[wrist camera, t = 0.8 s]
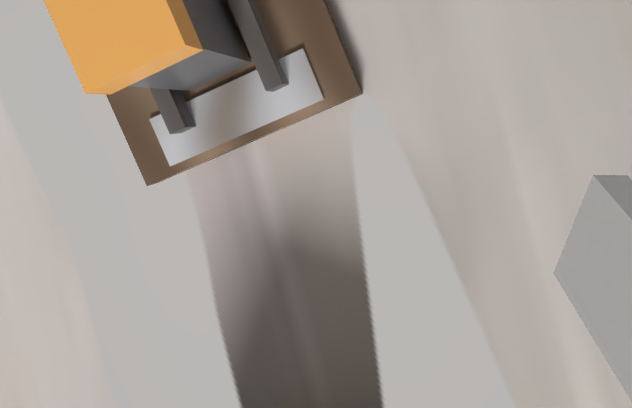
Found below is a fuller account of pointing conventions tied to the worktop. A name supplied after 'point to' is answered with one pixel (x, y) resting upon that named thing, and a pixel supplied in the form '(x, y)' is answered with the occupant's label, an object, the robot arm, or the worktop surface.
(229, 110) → the switch panel
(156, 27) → the switch handle
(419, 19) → the worktop surface
